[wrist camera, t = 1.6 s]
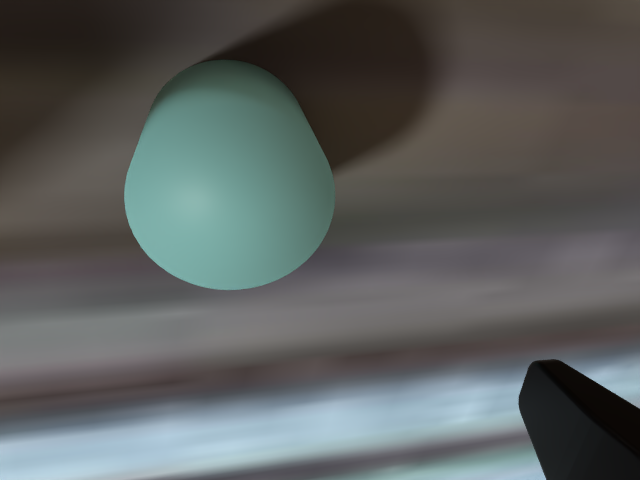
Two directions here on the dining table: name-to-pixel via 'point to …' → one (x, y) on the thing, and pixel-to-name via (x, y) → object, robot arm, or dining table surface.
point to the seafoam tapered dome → (228, 179)
